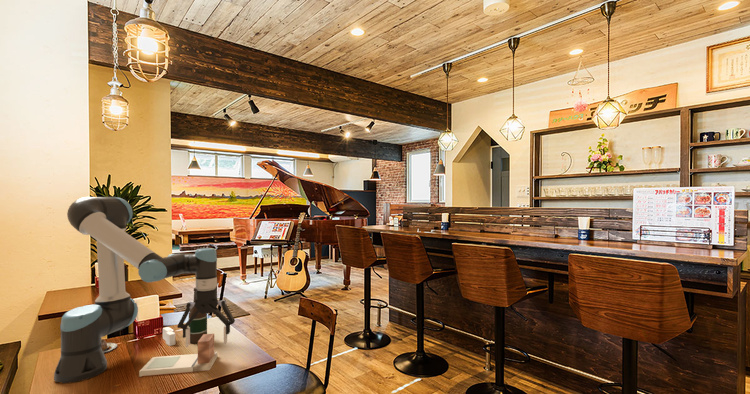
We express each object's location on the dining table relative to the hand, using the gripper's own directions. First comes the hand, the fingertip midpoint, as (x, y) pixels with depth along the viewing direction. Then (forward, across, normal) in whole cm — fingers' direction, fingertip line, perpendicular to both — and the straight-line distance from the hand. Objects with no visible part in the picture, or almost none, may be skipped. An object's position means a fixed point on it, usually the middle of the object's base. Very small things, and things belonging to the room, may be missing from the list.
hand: (206, 344), depth 141 cm
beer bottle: (+8, -10, +26) cm, 29 cm away
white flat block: (+8, -12, 0) cm, 15 cm away
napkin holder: (+8, -23, +27) cm, 37 cm away
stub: (+8, 0, 0) cm, 8 cm away
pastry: (+8, -48, +24) cm, 54 cm away
